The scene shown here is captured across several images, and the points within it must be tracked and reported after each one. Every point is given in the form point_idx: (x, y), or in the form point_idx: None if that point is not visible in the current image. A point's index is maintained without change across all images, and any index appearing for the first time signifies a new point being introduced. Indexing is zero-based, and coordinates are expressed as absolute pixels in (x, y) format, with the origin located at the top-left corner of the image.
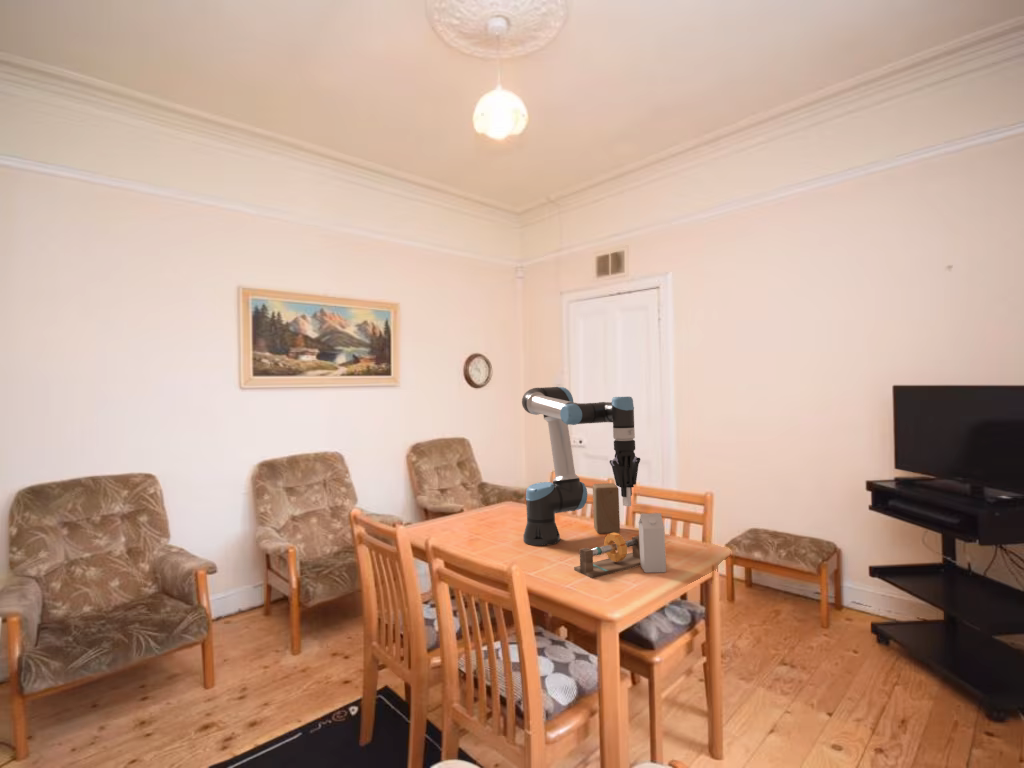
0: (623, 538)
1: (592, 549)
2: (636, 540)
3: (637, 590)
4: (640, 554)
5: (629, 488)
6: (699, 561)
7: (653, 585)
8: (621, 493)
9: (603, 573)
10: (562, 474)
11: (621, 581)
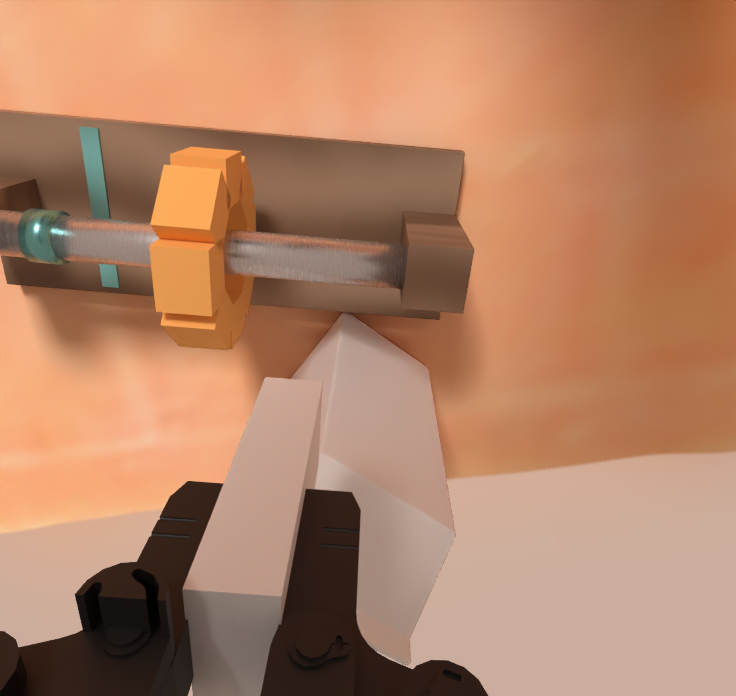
0: (220, 338)
1: None
2: (400, 286)
3: (121, 475)
4: (327, 352)
5: (252, 691)
6: (612, 441)
7: (211, 481)
8: (157, 527)
9: (82, 288)
10: None
11: (123, 383)
